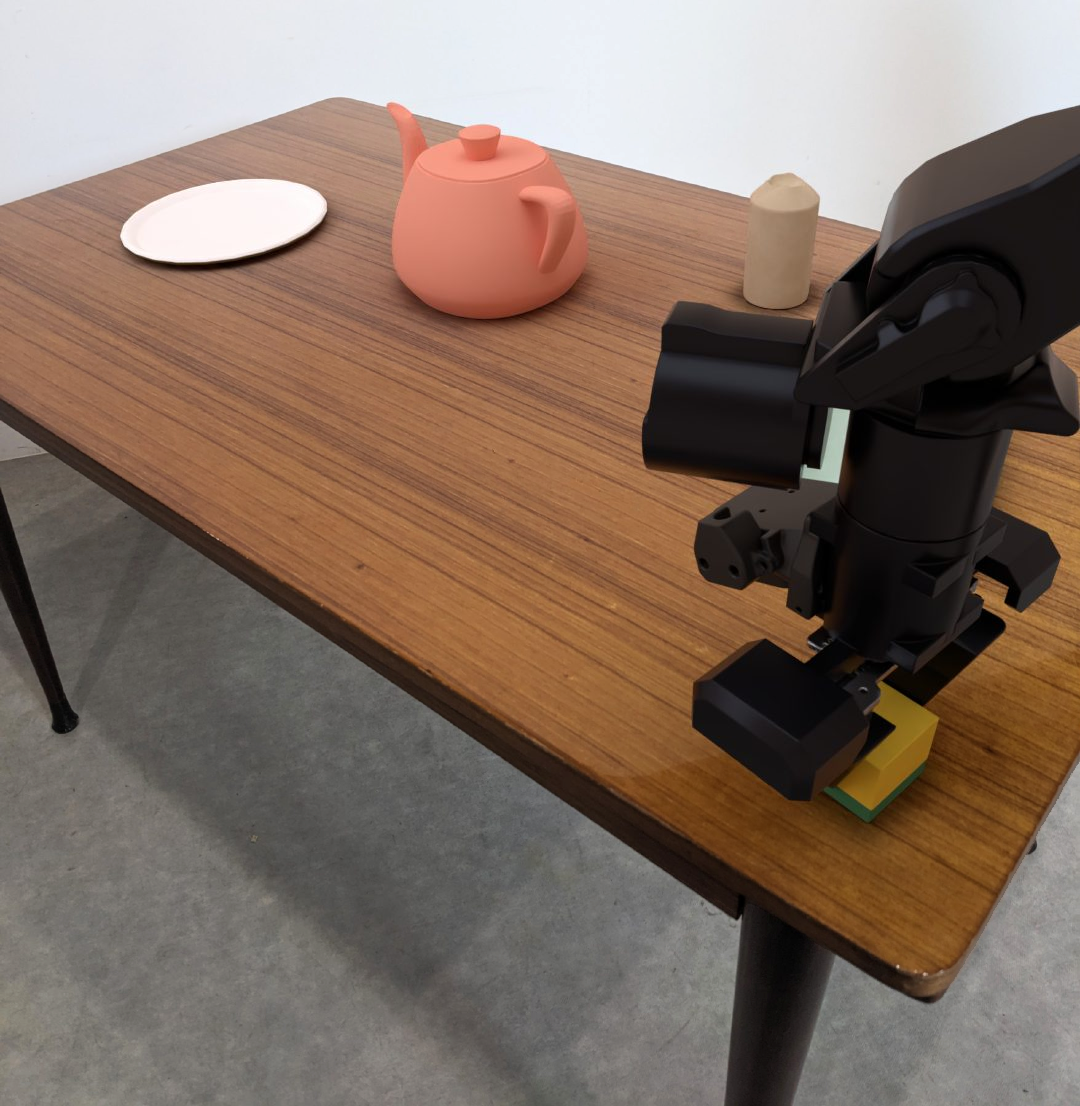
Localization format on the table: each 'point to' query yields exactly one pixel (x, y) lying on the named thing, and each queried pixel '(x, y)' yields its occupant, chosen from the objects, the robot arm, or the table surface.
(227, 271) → the table surface
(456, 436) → the table surface
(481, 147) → the teapot
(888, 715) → the sponge
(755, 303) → the candle
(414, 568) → the table surface
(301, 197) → the plate
